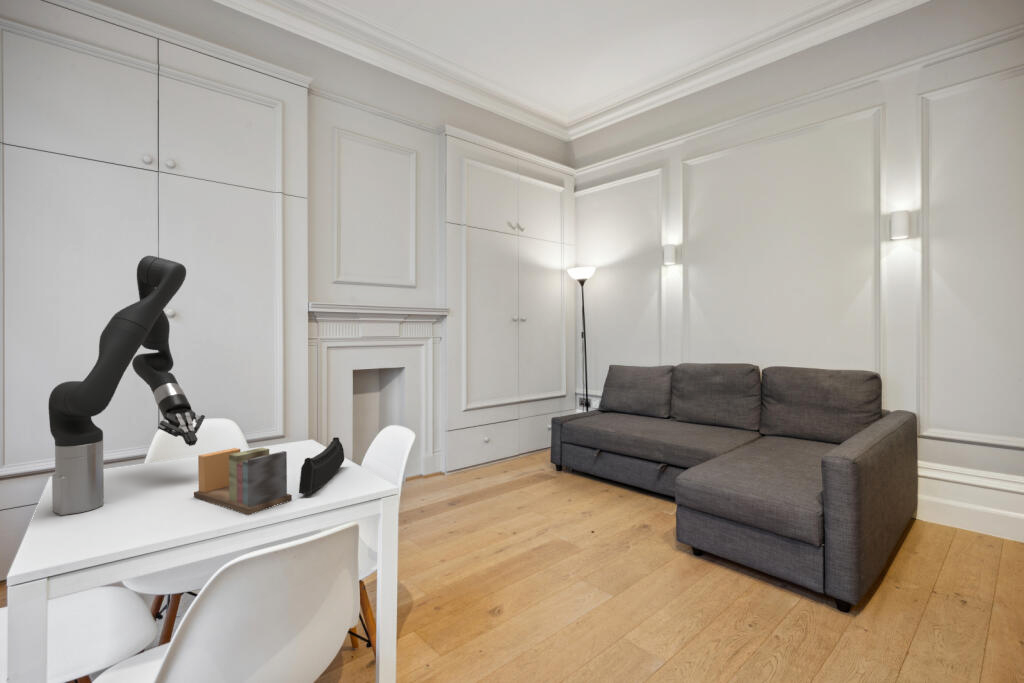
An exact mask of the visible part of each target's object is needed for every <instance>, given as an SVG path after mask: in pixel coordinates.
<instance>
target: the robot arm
mask: <svg viewBox="0 0 1024 683" xmlns="http://www.w3.org/2000/svg"><path fill="white" fill-rule="evenodd" d="M137 264H138V265H137V267H136V284H137V291H138V299H139V300H138V301H136V302H134V303H132V304H129V305H127V306H125V307H124V308H122V309H119V311H117V312H116V313H114V314H113V315H112V317H111V319H110V320H109V321H108V323H107V325H106V326H105V327H104V328H103V330H102V332H101V334H100V336H99V344H98V357H97V360H96V363H95V365H94V366H93V367H92V369H91V370H90V372H89V374H88V375H87V376H86V377H85V379H83V380H82V381H81V380H76V381H75V380H72V381H71V380H69V381H65V382H61V383H59V384H58V385H56V386H55V387H54V388H53V389H52V391H51V392H50V394H49V397H48V418H49V419H48V420H49V429H50V434H51V436H52V437H53V439H54V466H55V467H54V472H55V473H53V474H52V476H51V484H52V485H51V489H52V490H51V492H52V494H51V496H52V497H51V498H52V499H51V500H52V505H51V507H52V512H53V511H54V512H53V513H55V512H56V513H55V514H57V513H58V514H57V515H59V516H61V515H62V516H66V515H73V514H79V513H83V512H84V513H85V512H88V511H92V510H95V509H98V508H100V507H101V506H103V505H104V503H105V502H104V501H105V494H104V493H105V492H104V491H105V490H104V489H105V486H104V480H105V478H104V432H103V429H101V428H100V427H99V426H97V425H96V424H95V423H94V422H93V419H92V417H95V416H98V415H99V414H101V413H102V412H104V411H105V410H106V408H107V407H108V406H109V404H110V403H111V401H112V399H113V398H114V395H115V393H116V390H117V389H118V387H119V384H120V382H121V380H122V378H123V376H124V374H125V372H126V370H127V369H128V367H129V366H130V364H131V363H132V368H133V371H134V372H135V373H136V375H137V376H138V377H140V378H141V379H142V380H143V381H144V382H145V383H146V384H147V385H148V386H149V388H150V390H151V393H152V394H153V396H154V401H155V403H156V405H157V406H158V409H159V411H160V413H161V415H162V417H163V420H161V421H160V423H159V424H158V426H157V429H159V430H161V431H163V432H165V433H168V434H169V435H171V436H173V437H174V438H175V437H181V438H183V441H184V443H185V445H188V446H189V447H192V446H196V444H197V442H198V436H197V435H196V434H197V433H198V431H199V430H200V428H201V426H202V424H203V422H204V420H205V418H206V416H205V414H204V415H203V414H201V415H198V414H196V412H195V411H193V409H192V406H191V404H190V402H189V400H188V398H187V396H186V394H185V392H184V390H183V388H182V387H181V386H180V385H179V382H178V381H177V378H176V376H175V375H174V374H173V373H171V372H170V371H171V370H172V369H173V367H174V358H173V356H172V354H171V349H170V342H169V339H170V328H171V327H170V321H169V318H168V316H167V314H166V313H165V311H164V309H165V308H166V306H167V305H168V304H169V303H170V301H172V299H173V297H174V296H175V295H176V294H177V293H178V291H179V290H180V289H181V287H182V286H183V284H184V282H185V280H186V276H187V269H186V267H185V265H184V264H182V263H180V262H177V261H173V260H170V259H166V258H162V257H158V256H153V255H146V256H145V255H144V257H142V258H141V259H140V261H139V262H138V263H137ZM141 346H142V347H143V348H144V349H146V350H152V351H156V352H149V353H140V354H137V352H138V350H139V349H140V348H141ZM136 354H137V355H136ZM135 355H136V356H135ZM194 422H195V426H193V425H194Z"/></svg>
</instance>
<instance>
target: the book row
mask: <svg viewBox="0 0 1024 683" xmlns="http://www.w3.org/2000/svg"><path fill="white" fill-rule="evenodd" d="M287 454H288V453H287V451H285V450H284V451H278V452H274V453H270V449H269V448H266V447H265V448H264V447H258V448H253V449H249V450H246V451H245V450H243V451H240V452H239V453H234V454H230V455H229V486H227V487H224V488H220V489H216V490H213V491H209V492H205V493H203V492H200V491H199V490H196V491H194V492H193V498H195V499H197V498H198V499H197V500H200V501H203V500H204V502H206V501H207V503H209V502H210V504H212V503H214V504H213V505H216V504H217V505H216V506H219V505H220V506H219V507H222V506H224V507H223V508H225V507H227V508H226V509H228V508H230V509H229V510H231V509H233V510H232V511H234V510H236V511H235V512H237V511H239V512H238V513H240V512H242V513H241V514H243V513H245V514H244V515H246V514H248V515H247V516H249V514H250V515H252V513H253V514H256V513H259V512H261V511H260V510H262V511H264V510H263V509H265V510H267V509H266V508H268V509H270V508H269V507H271V508H273V507H272V506H274V505H277V504H280V503H282V504H285V503H288V502H290V501H292V499H293V498H292V496H293V495H292V494H290V493H288V474H287V473H288V470H287V468H288V465H287V464H288V463H287V461H288V458H287V457H288V455H287ZM287 501H288V502H287ZM284 502H285V503H284ZM280 505H281V504H280ZM277 506H278V505H277ZM274 507H275V506H274ZM258 511H259V512H258ZM255 512H256V513H255Z"/></svg>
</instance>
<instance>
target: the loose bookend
mask: <svg viewBox="0 0 1024 683" xmlns="http://www.w3.org/2000/svg"><path fill="white" fill-rule="evenodd" d="M239 452H241V448H237V447H233V448H227V449H224V450H217V451H214V452H209V453H204V454H199V455H198V457H197V459H198V464H197V465H198V467H197V468H198V472H197V473H198V491H200V492H203V493H205V492H209V491H213V490H216V489H220V488H224V487H227V486H229V455H230V454H234V453H239Z"/></svg>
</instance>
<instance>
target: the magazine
mask: <svg viewBox="0 0 1024 683" xmlns="http://www.w3.org/2000/svg"><path fill="white" fill-rule="evenodd" d="M344 461H345V450H344V446H343V444H342V442H341V441H340V437H333V438H332V441H330V444H329V445H328V446H327V447H326V448H325V449H323V451H321V452H320V453H319V454H317V455H315V456H313V457H306V458H304V461H303V462H304V463H303V464H302V466H301V468H300V476H299V486H298V494H299V495H300V494H301V495H308V494H311V493H312V492H315V491H316V490H318V489H320V488H322V487H324V486H325V485H326V484H327V483H329V481H331V479H332V478H333V477H334V476H335V475H336V473H337V472H338V471H339V469H340V468H341V467H342V465H343V463H344ZM324 484H325V485H324Z"/></svg>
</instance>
